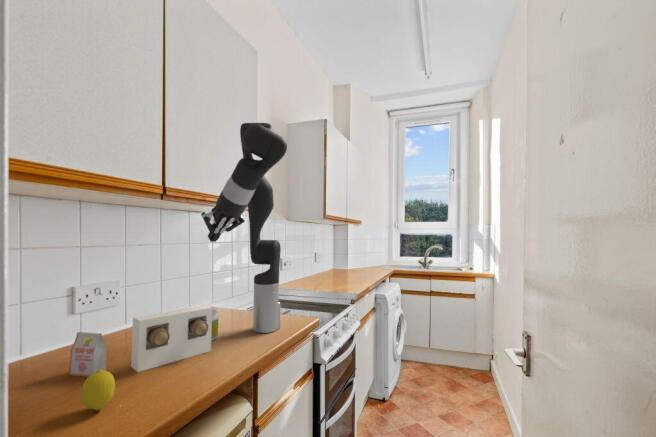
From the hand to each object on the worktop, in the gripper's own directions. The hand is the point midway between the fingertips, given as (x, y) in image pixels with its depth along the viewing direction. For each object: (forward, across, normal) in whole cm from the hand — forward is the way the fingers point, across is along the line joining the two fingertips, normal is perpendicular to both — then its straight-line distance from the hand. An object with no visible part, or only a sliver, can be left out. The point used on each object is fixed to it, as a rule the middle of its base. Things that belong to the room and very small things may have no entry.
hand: (211, 239), depth 92 cm
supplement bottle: (+35, -9, +13) cm, 39 cm away
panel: (+29, +6, +19) cm, 35 cm away
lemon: (+18, +28, +30) cm, 45 cm away
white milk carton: (+34, +25, +14) cm, 45 cm away
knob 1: (+24, +12, +16) cm, 31 cm away
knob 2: (+24, +1, +16) cm, 29 cm away
